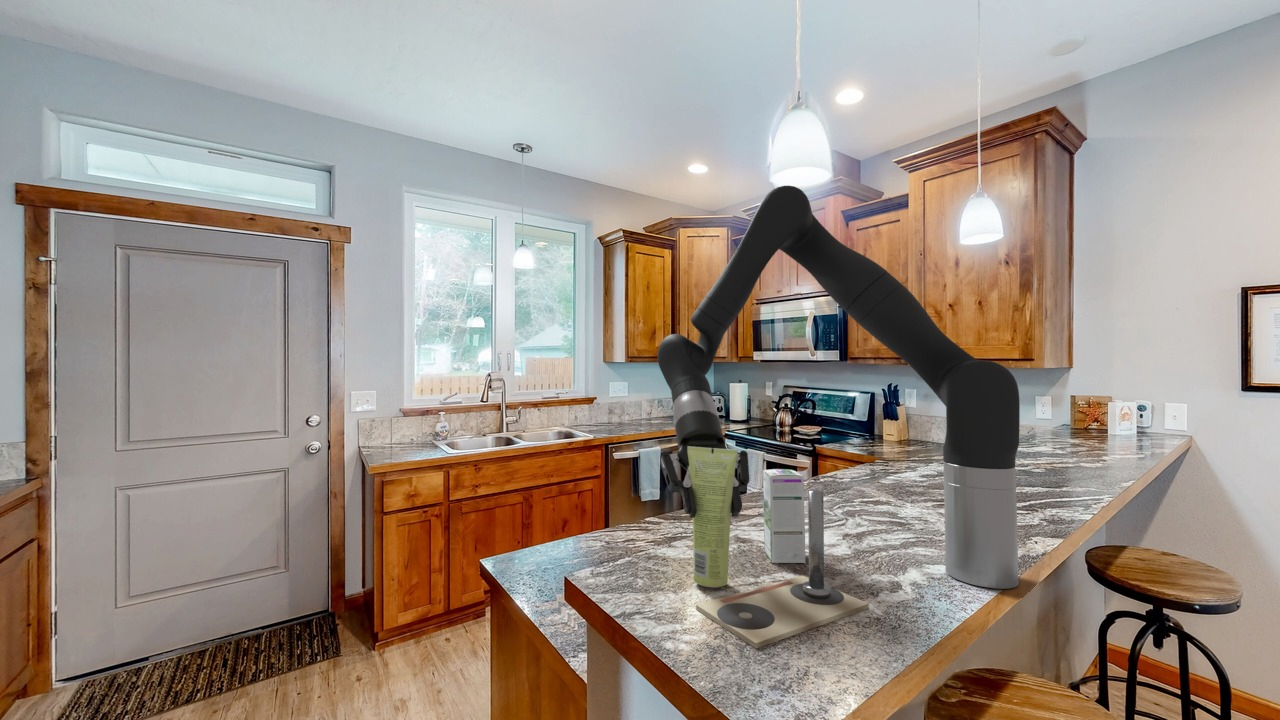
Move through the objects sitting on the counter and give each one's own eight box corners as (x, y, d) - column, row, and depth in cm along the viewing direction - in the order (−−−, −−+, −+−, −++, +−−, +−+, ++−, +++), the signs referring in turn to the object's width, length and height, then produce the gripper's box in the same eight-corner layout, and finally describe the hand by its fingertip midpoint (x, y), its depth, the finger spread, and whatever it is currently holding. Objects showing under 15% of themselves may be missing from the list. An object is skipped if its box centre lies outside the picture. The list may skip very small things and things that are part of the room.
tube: (721, 572, 76) (720, 444, 77) (738, 585, 71) (737, 448, 72) (687, 577, 74) (687, 446, 75) (703, 591, 69) (702, 450, 70)
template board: (802, 579, 75) (802, 575, 75) (868, 608, 65) (868, 603, 65) (696, 609, 65) (696, 604, 65) (756, 648, 55) (755, 642, 55)
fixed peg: (814, 586, 71) (814, 487, 72) (836, 595, 68) (835, 492, 68) (797, 591, 69) (796, 489, 70) (818, 601, 66) (817, 494, 67)
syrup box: (806, 564, 81) (806, 474, 82) (770, 564, 81) (770, 474, 82) (796, 552, 87) (795, 468, 88) (762, 552, 87) (762, 468, 88)
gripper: (656, 409, 80) (667, 501, 68) (743, 408, 82) (770, 499, 69) (652, 438, 85) (662, 529, 73) (734, 437, 87) (757, 526, 74)
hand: (714, 514), depth 71 cm, fingers closed on tube, 5 cm apart
